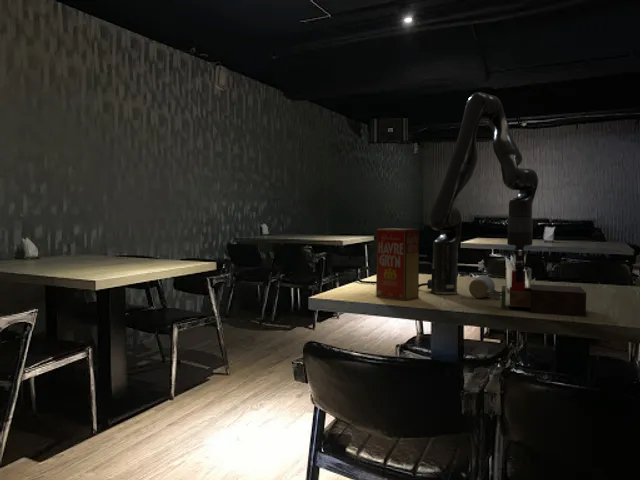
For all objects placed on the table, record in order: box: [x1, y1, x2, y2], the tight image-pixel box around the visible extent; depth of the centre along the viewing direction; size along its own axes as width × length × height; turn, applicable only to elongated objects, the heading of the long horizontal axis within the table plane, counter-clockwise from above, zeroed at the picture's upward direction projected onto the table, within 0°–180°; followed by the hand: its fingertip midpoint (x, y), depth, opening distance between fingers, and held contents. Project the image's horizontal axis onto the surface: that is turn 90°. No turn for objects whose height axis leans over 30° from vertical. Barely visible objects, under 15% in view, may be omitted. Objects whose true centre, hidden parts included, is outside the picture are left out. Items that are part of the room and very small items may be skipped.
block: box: [510, 269, 526, 292], centre depth 159 cm, size 4×4×10 cm
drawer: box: [486, 285, 531, 309], centre depth 160 cm, size 19×11×5 cm, turn 69°
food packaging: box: [375, 227, 420, 302], centre depth 178 cm, size 13×9×25 cm
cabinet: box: [529, 283, 587, 317], centre depth 156 cm, size 15×13×7 cm
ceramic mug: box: [468, 274, 501, 300], centre depth 178 cm, size 11×8×8 cm
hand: (519, 280), depth 159 cm, fingers open, 8 cm apart
